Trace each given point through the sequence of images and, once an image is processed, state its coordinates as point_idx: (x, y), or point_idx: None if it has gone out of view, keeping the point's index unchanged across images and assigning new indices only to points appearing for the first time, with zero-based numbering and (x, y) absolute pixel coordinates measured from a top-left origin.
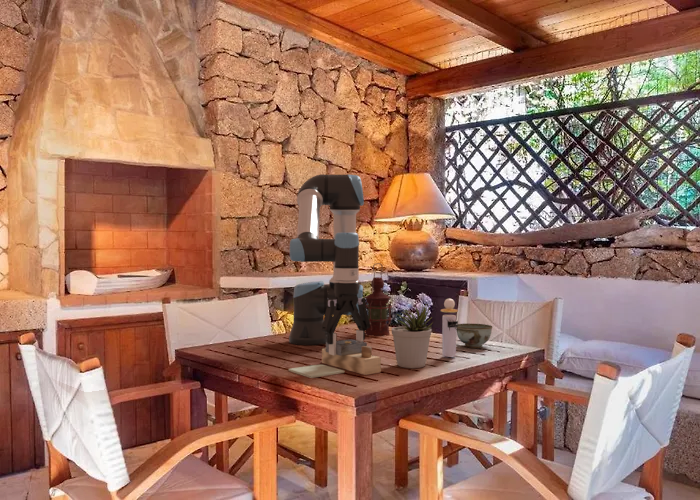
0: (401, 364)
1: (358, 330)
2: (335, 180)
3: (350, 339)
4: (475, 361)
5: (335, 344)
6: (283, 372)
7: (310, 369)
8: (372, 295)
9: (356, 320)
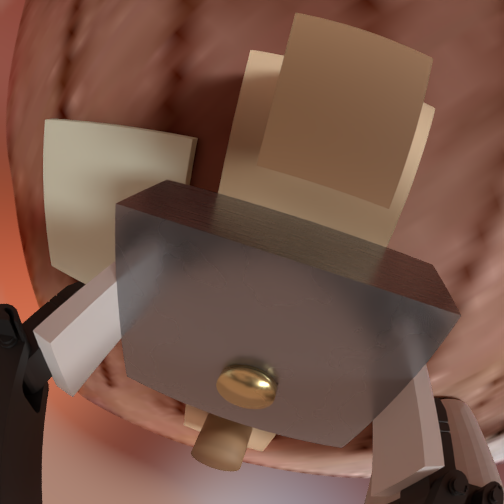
0: None
1: (405, 480)
2: None
3: (445, 319)
4: (497, 454)
5: (116, 336)
6: (34, 128)
7: (83, 195)
8: None
9: None
